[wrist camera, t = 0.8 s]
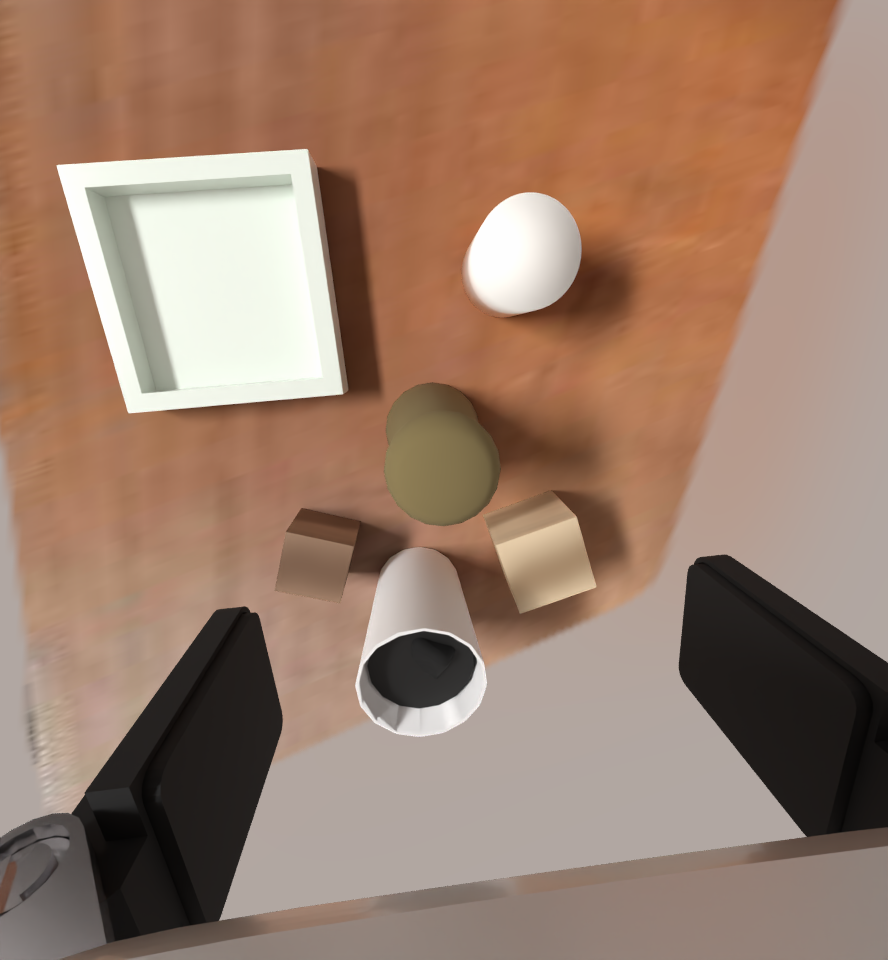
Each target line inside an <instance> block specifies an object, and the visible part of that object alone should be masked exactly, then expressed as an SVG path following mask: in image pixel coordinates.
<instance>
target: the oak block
mask: <svg viewBox="0 0 888 960" xmlns="http://www.w3.org/2000/svg"><path fill="white" fill-rule="evenodd" d="M483 517H484V519H485V522H486V525H487V528H488V531H489V533H490V536H491V539H492V542H493V545H494V548H495V550H496V553H497V556H498V559H499V562H500V564H501V567H502V570H503V573H504V576H505V578H506V581H507V583H508V586H509V588H510V591H511V593H512V595H513V598H514V600H515V603H516V605H517V608H518V610H519V613H520V614H521V613H524V612H527V611H530V610H533V609H536V608H539V607H541V606H544V605H547V604H550V603H553V602H556V601H559V600H561V599H564V598H567V597H570V596H573V595H576V594H579V593H581V592H584V591H587V590H590V589H593V588H596V583H595V580H594V576H593V573H592V569H591V566H590V562H589V559H588V555H587V552H586V548H585V544H584V541H583V537H582V534H581V530H580V527H579V523H578V520H577V517H576V516H575V514H574V513H573V512H572V511H571V510H570V509H569V508H568V507H567V506H566V505H565V504H564V503H563V502H562V501H561V500H560V499H559V498H558V497H557V496H556V495H555V494H554V493H553V491H552V490H551V491H548V492H545V493H542V494H540V495H537V496H534V497H531V498H528V499H526V500H523V501H520V502H517V503H515V504H512V505H509V506H506V507H503V508H501V509H498V510H495V511H492V512H489V513H487V514H484V515H483Z"/></svg>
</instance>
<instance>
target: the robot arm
mask: <svg viewBox="0 0 888 960" xmlns="http://www.w3.org/2000/svg"><path fill="white" fill-rule="evenodd" d="M679 671H680V675H681V678H682V680H683V682H684V684H685V685H686V686H687V687H688V689H689V690H690V691H691V692H692V694H693V695H694V696H695V698H697V700H698V701H699V703H700V704H701V705H702V706H703V708H704V709H705V710H706V711H707V713H708V714H709V715H710V716H711V718H712V719H713V720H714V721H715V722H716V724H717V725H718V726H719V728H720V729H721V730H722V731H723V733H724V734H725V735H726V736H727V738H728V739H729V740H730V741H731V743H732V744H733V745H734V746H735V748H736V749H737V750H738V752H739V753H740V754H741V755H742V757H743V758H744V759H745V760H746V762H747V763H748V764H749V765H750V767H751V768H752V769H753V770H754V772H755V773H756V774H757V775H758V776H759V778H760V779H761V780H762V782H763V783H764V784H765V785H766V787H767V788H768V789H769V790H770V792H771V793H772V794H773V795H774V797H775V798H776V799H777V800H778V802H779V803H780V804H781V805H782V807H783V808H784V809H785V810H786V812H787V813H788V814H789V815H790V817H791V818H792V819H793V821H794V822H795V823H796V824H797V825H798V827H799V828H800V829H801V831H802V832H803V833H804V834H805V835H806V836H807V837H804V838H796V839H789V840H781V841H774V842H766V843H758V844H751V845H743V846H736V847H728V848H721V849H713V850H706V851H697V852H690V853H683V854H675V855H668V856H661V857H653V858H647V859H639V860H631V861H624V862H617V863H609V864H602V865H595V866H588V867H581V868H574V869H567V870H559V871H552V872H545V873H537V874H531V875H523V876H516V877H509V878H501V879H494V880H488V881H480V882H473V883H466V884H459V885H452V886H445V887H438V888H432V889H424V890H418V891H411V892H405V893H397V894H390V895H383V896H376V897H370V898H363V899H356V900H349V901H342V902H335V903H328V904H321V905H315V906H308V907H300V908H294V909H288V910H282V911H276V912H270V913H264V914H258V915H252V916H246V917H239V918H234V919H227V920H222V921H219V919H220V917H221V914H222V911H223V908H224V905H225V902H226V899H227V896H228V893H229V889H230V886H231V883H232V880H233V877H234V874H235V871H236V868H237V865H238V862H239V859H240V856H241V853H242V850H243V847H244V844H245V841H246V838H247V835H248V831H249V829H250V826H251V823H252V820H253V817H254V813H255V810H256V807H257V804H258V801H259V798H260V795H261V792H262V789H263V786H264V783H265V780H266V777H267V774H268V771H269V768H270V765H271V762H272V759H273V756H274V753H275V750H276V747H277V744H278V740H279V737H280V734H281V731H282V722H283V718H282V710H281V706H280V702H279V698H278V694H277V690H276V685H275V681H274V677H273V673H272V669H271V664H270V660H269V656H268V652H267V648H266V643H265V639H264V635H263V631H262V627H261V622H260V618H259V616H258V614H257V613H250V610H249V609H248V608H247V607H237V608H227V609H219V610H216V611H215V612H214V613H213V615H212V616H211V618H210V619H209V620H208V622H207V623H206V624H205V626H204V627H203V629H202V630H201V631H200V633H199V634H198V636H197V637H196V638H195V640H194V641H193V643H192V644H191V645H190V647H189V648H188V650H187V651H186V652H185V654H184V655H183V657H182V658H181V659H180V661H179V662H178V663H177V665H176V666H175V668H174V669H173V670H172V672H171V673H170V675H169V676H168V677H167V679H166V680H165V682H164V683H163V684H162V686H161V687H160V689H159V690H158V691H157V693H156V694H155V695H154V697H153V698H152V700H151V701H150V702H149V704H148V705H147V707H146V708H145V709H144V711H143V712H142V714H141V715H140V716H139V718H138V719H137V721H136V722H135V723H134V725H133V726H132V727H131V729H130V730H129V732H128V733H127V734H126V736H125V737H124V739H123V740H122V741H121V743H120V744H119V746H118V747H117V748H116V750H115V751H114V753H113V754H112V755H111V757H110V758H109V760H108V761H107V762H106V764H105V765H104V766H103V768H102V769H101V771H100V772H99V773H98V775H97V776H96V778H95V779H94V780H93V782H92V783H91V785H90V786H89V787H88V789H87V790H86V792H85V796H84V797H83V798H82V800H81V801H80V803H79V804H78V805H77V807H76V808H75V810H74V811H73V812H72V814H69V813H55V814H49V815H46V816H43V817H39V818H36V819H33V820H31V821H29V822H27V823H25V824H23V825H21V826H19V827H17V828H15V829H13V830H11V831H9V832H8V833H6V834H5V835H3V836H2V837H0V960H888V663H887V662H886V661H884V660H883V659H881V658H880V657H878V656H877V655H875V654H874V653H872V652H871V651H870V650H868V649H867V648H865V647H863V646H862V645H860V644H859V643H858V642H856V641H855V640H853V639H852V638H850V637H849V636H847V635H846V634H844V633H843V632H841V631H840V630H839V629H837V628H836V627H834V626H833V625H831V624H830V623H828V622H826V621H825V620H824V619H822V618H821V617H819V616H818V615H816V614H815V613H813V612H811V611H810V610H809V609H807V608H806V607H804V606H803V605H802V604H800V603H799V602H797V601H796V600H794V599H793V598H791V597H790V596H788V595H787V594H785V593H784V592H782V591H781V590H779V589H778V588H776V587H775V586H773V585H772V584H771V583H769V582H768V581H766V580H765V579H763V578H762V577H760V576H759V575H757V574H756V573H754V572H753V571H751V570H750V569H748V568H747V567H745V566H744V565H743V564H741V563H739V562H738V561H736V560H735V559H734V558H732V557H731V556H728V555H716V556H707V557H700V558H698V559H696V561H695V563H694V565H691V566H690V567H689V569H688V574H687V584H686V595H685V605H684V615H683V626H682V636H681V647H680V658H679Z"/></svg>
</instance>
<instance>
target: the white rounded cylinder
mask: <svg viewBox="0 0 888 960" xmlns="http://www.w3.org/2000/svg"><path fill="white" fill-rule="evenodd" d="M581 250H582V249H581V238H580V233H579V230H578V227H577V224H576V222H575V220H574V218H573V217H572V215H571V214H570V212H569V211H568V210H567V209H566V208H565V207H564V206H563V205H562V204H561V203H560V202H558V201H557V200H556V199H554V198H552V197H550V196H547V195H544V194H540V193H521V194H517V195H514V196H512V197H510V198H507V199H506V200H504V201H503V202H501V203H500V204H499V205H497V206H496V207H495V208H494V209H493V210H492V211H491V213H490V214H489V215H488V217H487V218H486V219H485V221H484V223H483V224H482V226H481V228H480V229H479V231H478V232H477V234H476V236H475V237H474V239H473V241H472V242H471V244H470V245H469V247H468V249H467V251H466V253H465V256H464V259H463V263H462V283H463V287H464V290H465V292H466V295H467V296H468V298H469V300H470V301H471V303H472V304H473V305H474V306H475V307H476V308H477V309H479V310H480V311H481V312H483V313H485V314H487V315H489V316H493V317H499V318H505V317H511V316H515V315H519V314H523V313H527V312H531V311H535V310H538V309H542V308H544V307H547V306H549V305H551V304H552V303H554V302H556V301H557V300H558V299H559V298H560V297H562V296H563V294H564V293H565V292H566V291H567V290H568V289H569V287H570V286H571V284H572V283H573V281H574V279H575V277H576V274H577V272H578V269H579V266H580V260H581Z"/></svg>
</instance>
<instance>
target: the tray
mask: <svg viewBox="0 0 888 960" xmlns="http://www.w3.org/2000/svg"><path fill="white" fill-rule="evenodd" d="M57 169H58V172H59V176H60V179H61V183H62V186H63V189H64V193H65V196H66V200H67V203H68V207H69V210H70V214H71V217H72V220H73V224H74V227H75V231H76V234H77V238H78V241H79V245H80V248H81V251H82V255H83V258H84V262H85V265H86V269H87V272H88V276H89V279H90V282H91V286H92V289H93V293H94V296H95V300H96V303H97V307H98V310H99V313H100V317H101V320H102V324H103V327H104V331H105V334H106V338H107V341H108V344H109V348H110V351H111V355H112V358H113V362H114V365H115V369H116V372H117V375H118V379H119V382H120V386H121V389H122V393H123V396H124V400H125V403H126V407H127V410H128V413H137V412H148V411H160V410H171V409H182V408H194V407H205V406H216V405H227V404H239V403H250V402H261V401H273V400H284V399H295V398H307V397H318V396H329V395H340V394H344V393H346V392H347V391H348V383H347V376H346V369H345V362H344V355H343V348H342V341H341V334H340V327H339V319H338V312H337V305H336V298H335V291H334V284H333V277H332V270H331V263H330V256H329V249H328V242H327V235H326V228H325V221H324V214H323V207H322V199H321V192H320V185H319V178H318V171H317V166H316V164H315V162H314V160H313V158H312V156H311V155H310V153H309V151H308V149H301V150H285V151H270V152H254V153H239V154H223V155H207V156H192V157H176V158H161V159H145V160H130V161H114V162H98V163H83V164H67V165H57Z"/></svg>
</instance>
